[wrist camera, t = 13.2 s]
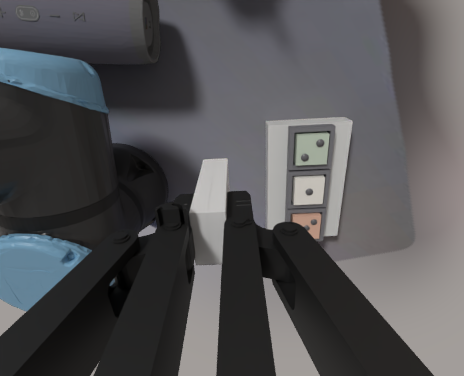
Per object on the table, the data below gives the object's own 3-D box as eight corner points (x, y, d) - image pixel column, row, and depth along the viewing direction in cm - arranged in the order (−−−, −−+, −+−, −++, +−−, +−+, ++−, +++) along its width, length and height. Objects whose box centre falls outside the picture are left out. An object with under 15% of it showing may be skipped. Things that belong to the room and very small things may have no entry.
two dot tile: (293, 160, 42) (296, 165, 40) (294, 131, 40) (297, 135, 38) (322, 159, 42) (326, 164, 40) (325, 130, 40) (330, 134, 38)
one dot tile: (291, 199, 45) (294, 205, 43) (292, 173, 43) (295, 179, 41) (318, 197, 45) (322, 204, 43) (321, 172, 43) (325, 177, 41)
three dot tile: (289, 232, 47) (292, 240, 46) (290, 210, 46) (293, 217, 44) (315, 231, 47) (319, 239, 45) (317, 209, 45) (321, 216, 44)
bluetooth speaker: (161, -14, 35) (136, -38, 26) (164, 66, 39) (144, 69, 30) (-23, -27, 35) (-113, -56, 26) (0, 56, 39) (-71, 56, 30)
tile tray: (265, 228, 51) (268, 244, 47) (265, 121, 42) (269, 128, 38) (331, 225, 51) (340, 241, 46) (344, 117, 42) (357, 123, 38)
